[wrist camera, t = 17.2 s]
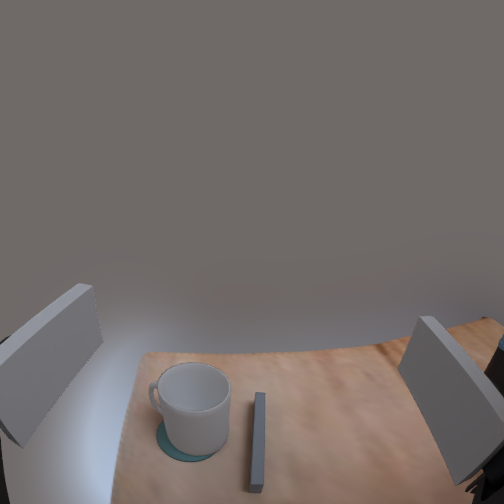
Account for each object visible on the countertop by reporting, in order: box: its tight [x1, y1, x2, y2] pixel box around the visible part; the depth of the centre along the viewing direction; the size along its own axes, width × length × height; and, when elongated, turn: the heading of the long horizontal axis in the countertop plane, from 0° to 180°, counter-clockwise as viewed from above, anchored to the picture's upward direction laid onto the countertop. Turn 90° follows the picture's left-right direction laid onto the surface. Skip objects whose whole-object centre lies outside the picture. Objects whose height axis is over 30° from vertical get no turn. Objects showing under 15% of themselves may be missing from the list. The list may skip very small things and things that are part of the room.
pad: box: [157, 421, 215, 462], centre depth 34 cm, size 10×10×1 cm
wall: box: [249, 392, 265, 493], centre depth 33 cm, size 18×2×4 cm, turn 177°
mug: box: [149, 362, 231, 456], centre depth 33 cm, size 10×12×12 cm
